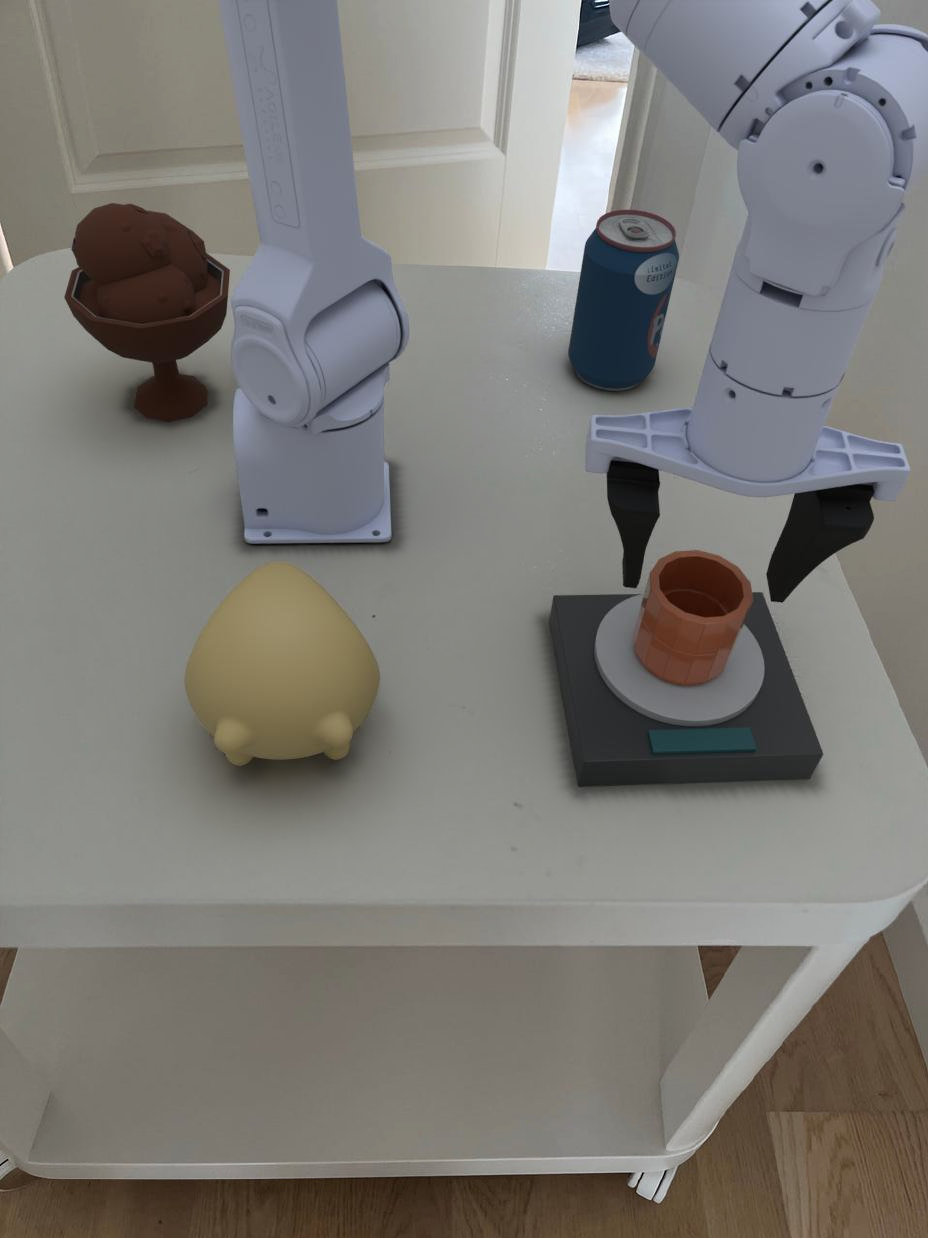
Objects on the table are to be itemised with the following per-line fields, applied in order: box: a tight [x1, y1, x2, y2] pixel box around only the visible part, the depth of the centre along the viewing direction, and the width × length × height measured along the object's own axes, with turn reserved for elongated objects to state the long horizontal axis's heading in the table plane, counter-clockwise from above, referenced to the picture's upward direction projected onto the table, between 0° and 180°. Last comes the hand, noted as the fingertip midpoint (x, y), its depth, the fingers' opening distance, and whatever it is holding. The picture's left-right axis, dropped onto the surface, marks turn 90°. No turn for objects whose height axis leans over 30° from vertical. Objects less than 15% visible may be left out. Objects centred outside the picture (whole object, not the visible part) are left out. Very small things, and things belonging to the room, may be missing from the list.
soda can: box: [567, 209, 680, 392], centre depth 76 cm, size 7×7×12 cm
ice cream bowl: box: [64, 202, 231, 422], centre depth 69 cm, size 11×11×15 cm
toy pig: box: [183, 560, 381, 767], centre depth 53 cm, size 10×12×11 cm
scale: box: [548, 591, 824, 787], centre depth 57 cm, size 13×12×3 cm
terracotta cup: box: [633, 549, 753, 686], centre depth 55 cm, size 5×6×5 cm
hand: (702, 581), depth 53 cm, fingers open, 7 cm apart
